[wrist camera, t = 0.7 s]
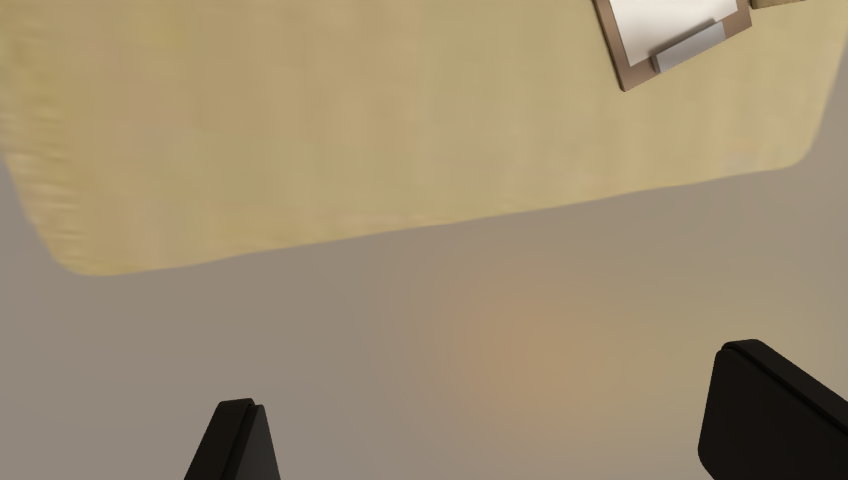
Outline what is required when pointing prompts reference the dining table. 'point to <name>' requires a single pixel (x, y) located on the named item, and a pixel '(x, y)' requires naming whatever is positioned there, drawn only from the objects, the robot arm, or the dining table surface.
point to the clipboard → (665, 32)
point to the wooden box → (770, 3)
